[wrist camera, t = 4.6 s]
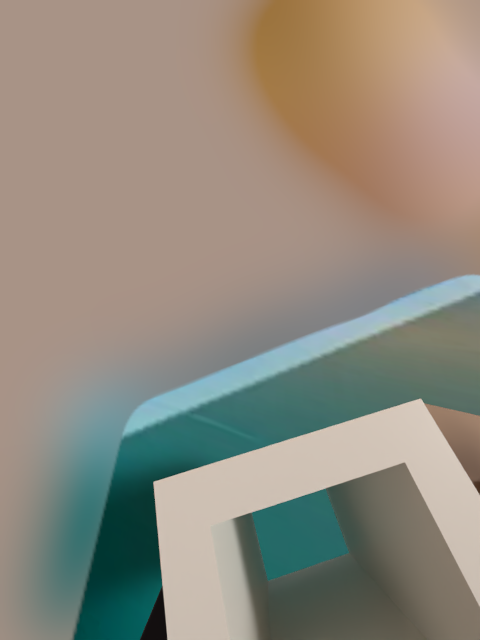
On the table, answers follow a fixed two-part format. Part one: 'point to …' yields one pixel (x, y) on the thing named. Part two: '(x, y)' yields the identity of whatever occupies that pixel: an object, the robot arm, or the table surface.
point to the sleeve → (356, 526)
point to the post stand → (461, 438)
